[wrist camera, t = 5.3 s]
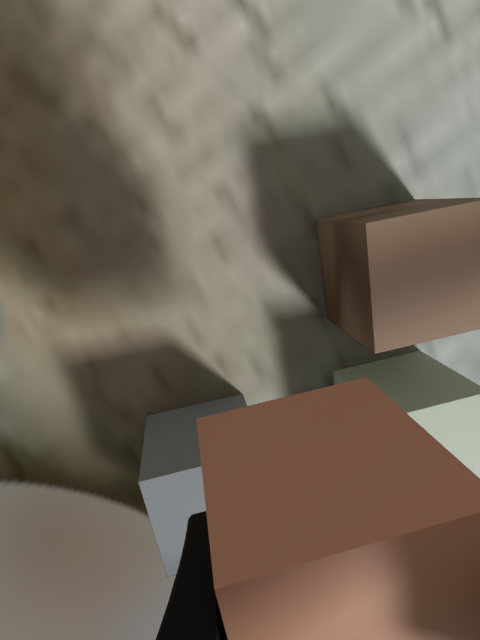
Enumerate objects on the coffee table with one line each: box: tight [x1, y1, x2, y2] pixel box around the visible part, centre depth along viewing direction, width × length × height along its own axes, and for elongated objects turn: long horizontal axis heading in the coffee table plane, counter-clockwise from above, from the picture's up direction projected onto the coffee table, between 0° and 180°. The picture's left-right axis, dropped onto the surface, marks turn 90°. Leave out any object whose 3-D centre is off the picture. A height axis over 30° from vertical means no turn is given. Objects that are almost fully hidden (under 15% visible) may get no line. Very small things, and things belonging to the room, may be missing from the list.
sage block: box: [333, 351, 480, 478], centre depth 19 cm, size 5×5×5 cm
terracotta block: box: [197, 377, 480, 640], centre depth 9 cm, size 5×5×5 cm
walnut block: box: [316, 198, 480, 354], centre depth 17 cm, size 5×5×5 cm
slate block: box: [138, 394, 247, 577], centre depth 18 cm, size 5×5×5 cm
